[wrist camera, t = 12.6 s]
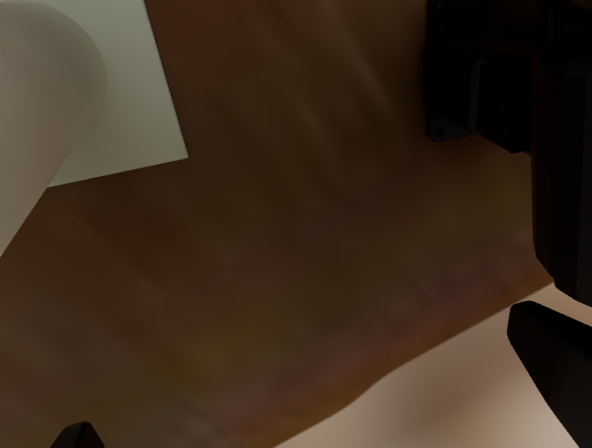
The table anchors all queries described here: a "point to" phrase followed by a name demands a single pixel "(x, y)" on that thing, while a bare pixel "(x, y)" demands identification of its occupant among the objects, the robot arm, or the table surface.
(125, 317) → the table surface
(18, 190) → the plug
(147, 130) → the mat
